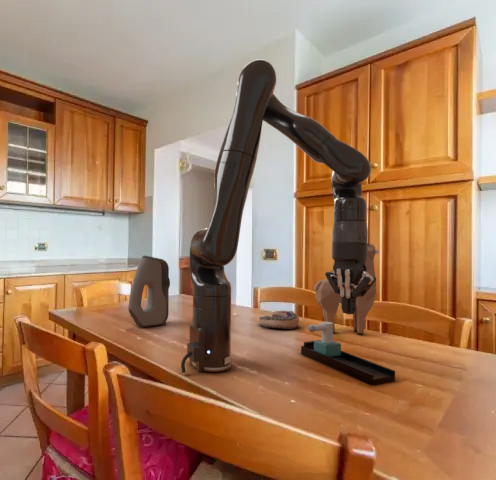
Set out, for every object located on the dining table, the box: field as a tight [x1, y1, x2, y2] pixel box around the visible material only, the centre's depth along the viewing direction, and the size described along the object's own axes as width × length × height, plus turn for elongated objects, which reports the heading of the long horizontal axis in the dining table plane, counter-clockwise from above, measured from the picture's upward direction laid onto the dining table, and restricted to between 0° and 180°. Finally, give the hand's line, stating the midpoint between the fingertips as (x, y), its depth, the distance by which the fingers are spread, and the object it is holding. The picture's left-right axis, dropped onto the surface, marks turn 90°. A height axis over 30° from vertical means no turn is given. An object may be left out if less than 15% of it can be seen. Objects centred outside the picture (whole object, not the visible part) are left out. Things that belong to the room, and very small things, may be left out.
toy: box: [312, 243, 380, 336], centre depth 112 cm, size 9×20×30 cm, turn 78°
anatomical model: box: [258, 310, 300, 330], centre depth 120 cm, size 12×16×5 cm
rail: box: [300, 339, 396, 386], centre depth 81 cm, size 7×21×3 cm, turn 21°
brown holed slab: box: [127, 255, 171, 328], centre depth 119 cm, size 6×15×25 cm, turn 125°
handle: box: [307, 321, 342, 357], centre depth 85 cm, size 8×4×8 cm, turn 111°
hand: (348, 313), depth 79 cm, fingers closed
